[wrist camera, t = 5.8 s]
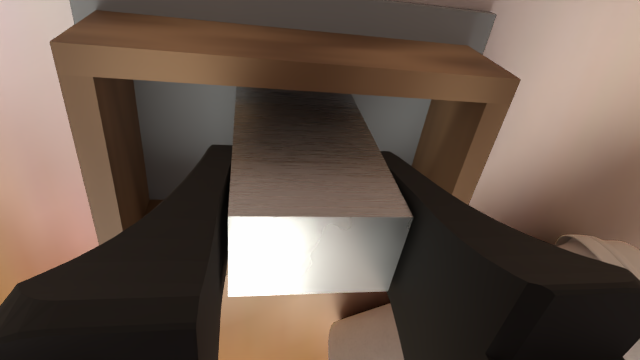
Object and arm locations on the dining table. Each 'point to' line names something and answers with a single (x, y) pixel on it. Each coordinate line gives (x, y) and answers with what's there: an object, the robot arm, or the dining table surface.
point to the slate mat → (294, 13)
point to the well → (263, 72)
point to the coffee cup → (380, 328)
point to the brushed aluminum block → (309, 198)
